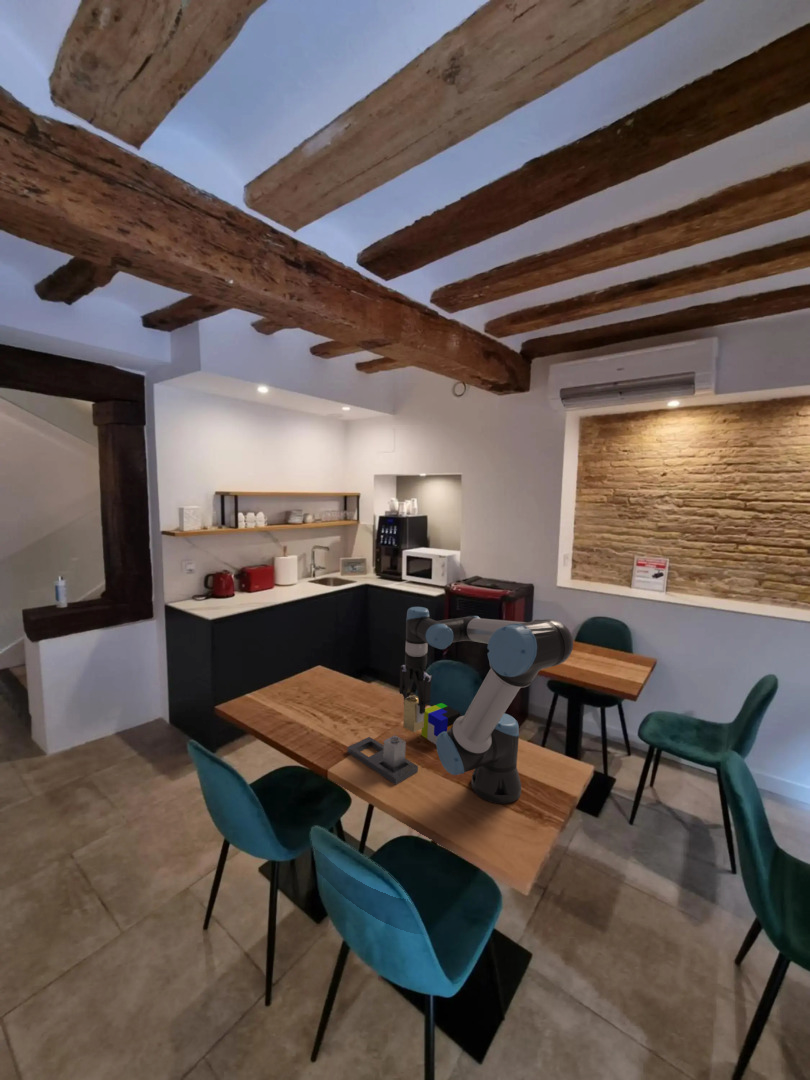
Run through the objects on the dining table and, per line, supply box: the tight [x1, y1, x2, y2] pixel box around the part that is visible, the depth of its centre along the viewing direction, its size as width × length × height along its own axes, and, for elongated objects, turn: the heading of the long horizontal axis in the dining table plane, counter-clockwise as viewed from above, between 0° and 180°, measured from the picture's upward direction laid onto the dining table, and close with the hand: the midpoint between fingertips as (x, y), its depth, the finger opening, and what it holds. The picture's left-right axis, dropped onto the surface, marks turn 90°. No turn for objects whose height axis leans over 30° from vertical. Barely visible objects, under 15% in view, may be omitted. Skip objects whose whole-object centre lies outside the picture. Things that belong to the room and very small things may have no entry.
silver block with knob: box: [383, 734, 407, 773], centre depth 147 cm, size 5×5×10 cm
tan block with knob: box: [402, 694, 424, 733], centre depth 156 cm, size 5×5×10 cm
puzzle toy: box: [420, 702, 461, 745], centre depth 169 cm, size 10×10×10 cm
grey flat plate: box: [346, 736, 419, 786], centre depth 152 cm, size 24×10×2 cm, turn 45°
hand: (413, 718), depth 156 cm, fingers closed on tan block with knob, 5 cm apart
